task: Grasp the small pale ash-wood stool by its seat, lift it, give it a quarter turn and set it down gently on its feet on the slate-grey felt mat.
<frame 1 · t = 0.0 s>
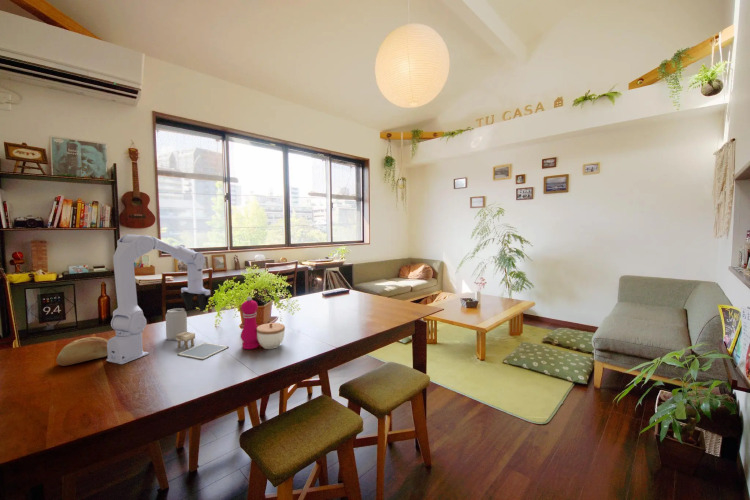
hand: (196, 309, 139), 10 cm above the table, fingers open, 7 cm apart
can: (176, 338, 133), on the table
mat: (203, 351, 119), on the table
lidded jar: (270, 346, 125), on the table, touching pepper mill
bread roll: (87, 361, 110), on the table
stool: (186, 346, 123), on the table
pepper mill: (251, 346, 125), on the table, touching lidded jar
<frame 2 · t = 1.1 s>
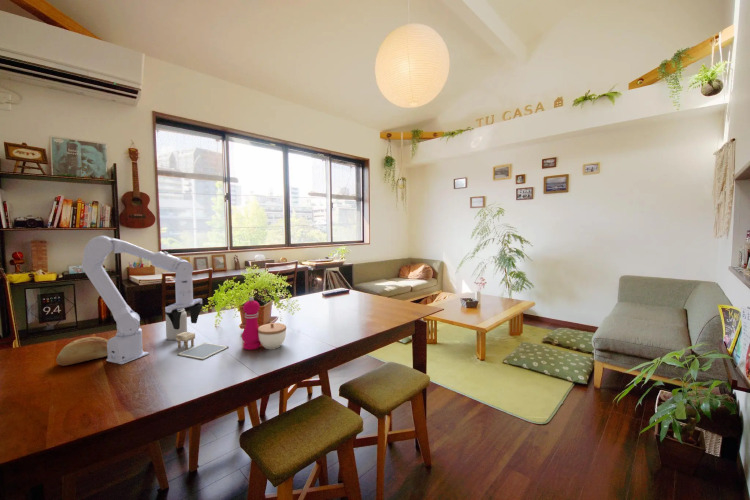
hand: (185, 325, 123), 8 cm above the table, fingers open, 7 cm apart
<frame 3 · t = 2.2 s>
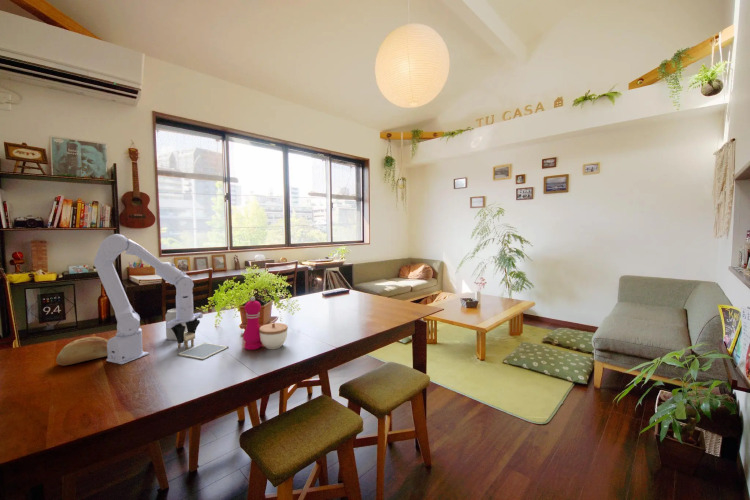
hand: (185, 340, 123), 2 cm above the table, fingers closed on stool, 4 cm apart
stool: (186, 346, 123), on the table, touching gripper
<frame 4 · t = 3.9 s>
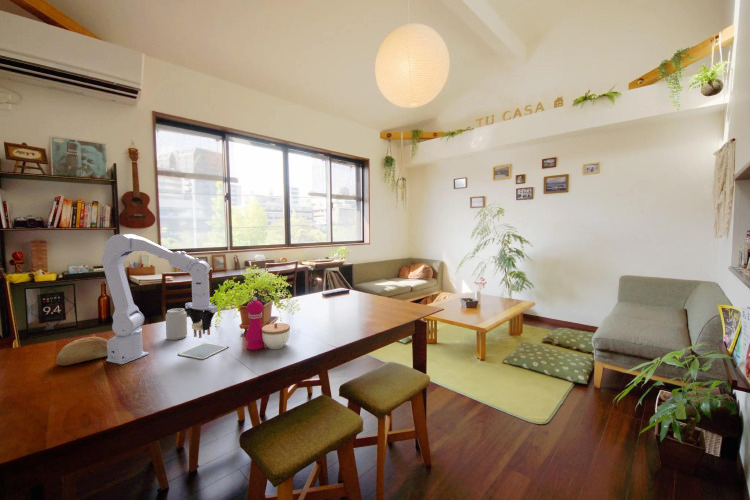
hand: (201, 328, 119), 9 cm above the table, fingers closed on stool, 4 cm apart
stool: (202, 335, 119), point 6 cm above the table, touching gripper
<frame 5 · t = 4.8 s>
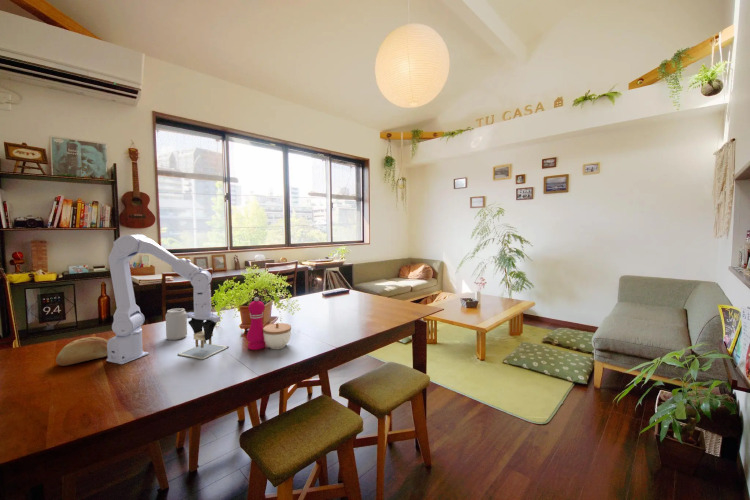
hand: (203, 338, 119), 5 cm above the table, fingers closed on stool, 4 cm apart
stool: (203, 345, 119), point 2 cm above the table, touching gripper
when the fingers open (3 cm above the table, at t = 5.6 s): stool stays where it is, resting on mat.
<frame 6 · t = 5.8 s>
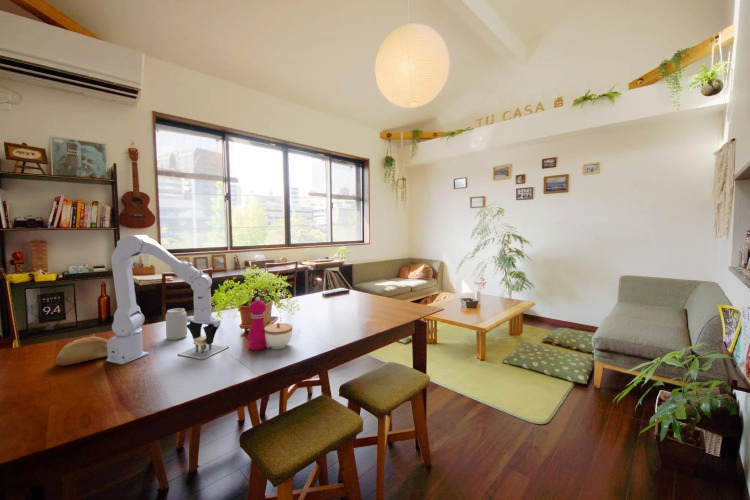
hand: (203, 342, 119), 3 cm above the table, fingers open, 6 cm apart
stool: (203, 350, 119), resting on mat
pepper mill: (257, 347, 124), on the table, touching lidded jar
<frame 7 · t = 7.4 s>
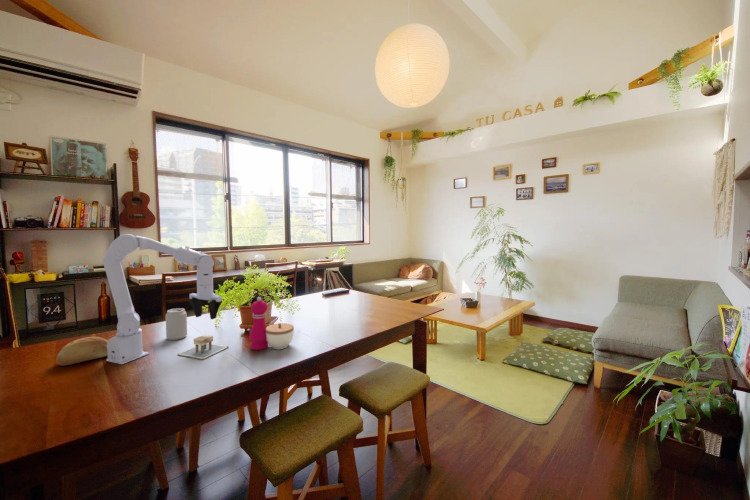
hand: (205, 317, 127), 10 cm above the table, fingers open, 7 cm apart
lidded jar: (279, 346, 125), on the table, touching pepper mill
pepper mill: (259, 347, 124), on the table, touching lidded jar
everything else where it was.
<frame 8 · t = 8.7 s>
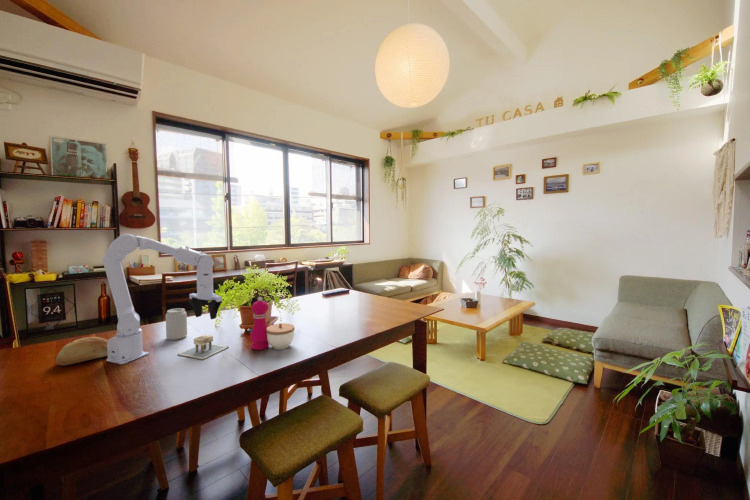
hand: (205, 317, 127), 10 cm above the table, fingers open, 7 cm apart
at the end: stool inside the target area on the mat (0.0 cm from its centre), point 0.4 cm above the mat's base; stool tilted 0°; the gripper is holding nothing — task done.
